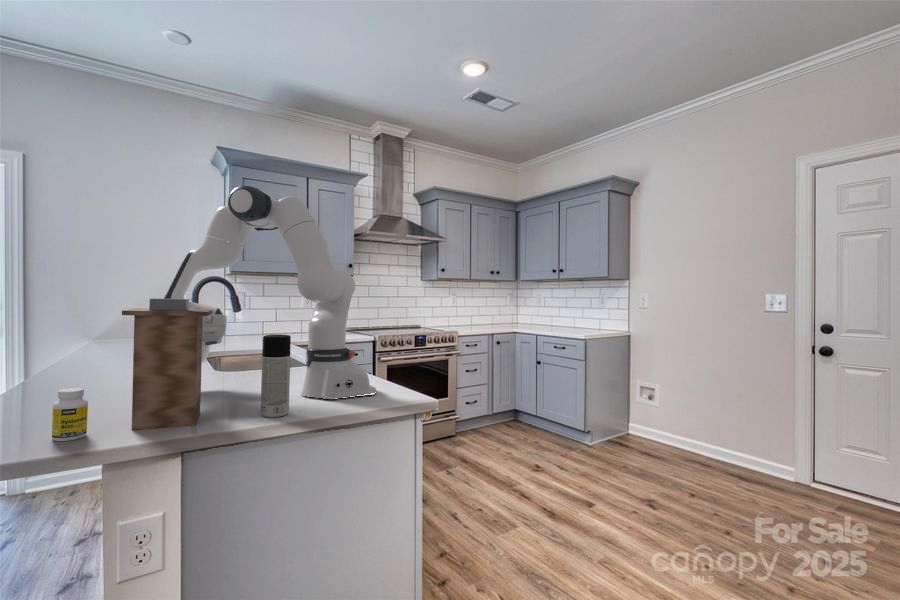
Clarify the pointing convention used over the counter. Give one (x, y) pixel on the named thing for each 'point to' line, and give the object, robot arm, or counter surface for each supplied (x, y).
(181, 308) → the dark grey flat block
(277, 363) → the spray can
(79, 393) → the supplement bottle
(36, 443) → the counter surface
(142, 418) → the pedestal
